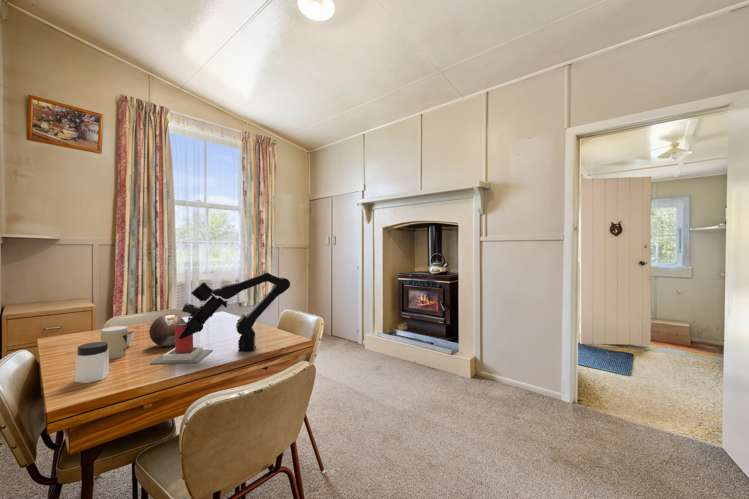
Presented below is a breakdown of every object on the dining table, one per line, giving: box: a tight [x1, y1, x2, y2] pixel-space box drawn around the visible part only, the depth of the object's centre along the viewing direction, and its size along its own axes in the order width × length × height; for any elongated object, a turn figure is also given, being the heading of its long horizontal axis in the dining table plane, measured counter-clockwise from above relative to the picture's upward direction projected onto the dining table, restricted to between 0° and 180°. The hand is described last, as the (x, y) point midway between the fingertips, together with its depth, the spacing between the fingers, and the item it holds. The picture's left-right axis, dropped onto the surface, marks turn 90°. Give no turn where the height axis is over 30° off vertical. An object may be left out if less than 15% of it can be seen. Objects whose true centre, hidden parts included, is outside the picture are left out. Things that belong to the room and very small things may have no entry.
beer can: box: [174, 321, 194, 354], centre depth 137 cm, size 7×7×12 cm
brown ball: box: [149, 313, 186, 347], centre depth 153 cm, size 15×15×15 cm
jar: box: [75, 341, 110, 384], centre depth 114 cm, size 9×8×12 cm
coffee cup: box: [99, 325, 128, 360], centre depth 137 cm, size 9×9×12 cm
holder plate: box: [149, 346, 214, 365], centre depth 137 cm, size 18×16×3 cm
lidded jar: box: [126, 327, 135, 348], centre depth 150 cm, size 11×11×9 cm
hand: (180, 336), depth 136 cm, fingers closed on beer can, 7 cm apart
